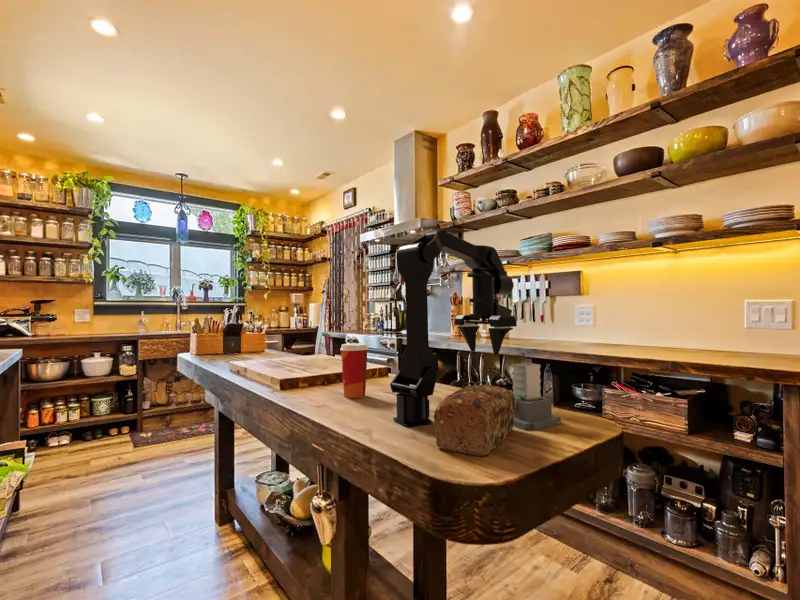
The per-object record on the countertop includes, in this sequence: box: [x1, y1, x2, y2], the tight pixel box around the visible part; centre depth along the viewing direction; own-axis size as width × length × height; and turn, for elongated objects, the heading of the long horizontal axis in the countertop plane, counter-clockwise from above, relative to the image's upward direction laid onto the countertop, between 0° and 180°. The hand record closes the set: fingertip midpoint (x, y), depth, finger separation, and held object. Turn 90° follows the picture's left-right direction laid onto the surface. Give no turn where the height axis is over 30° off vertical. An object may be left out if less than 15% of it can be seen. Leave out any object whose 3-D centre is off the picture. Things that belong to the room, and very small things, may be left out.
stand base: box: [513, 396, 562, 431], centre depth 88 cm, size 11×11×6 cm
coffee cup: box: [339, 342, 369, 399], centre depth 115 cm, size 8×8×15 cm
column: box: [511, 362, 542, 402], centre depth 89 cm, size 5×4×8 cm
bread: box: [433, 384, 515, 457], centre depth 77 cm, size 19×11×10 cm, turn 149°
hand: (484, 353), depth 107 cm, fingers open, 9 cm apart
